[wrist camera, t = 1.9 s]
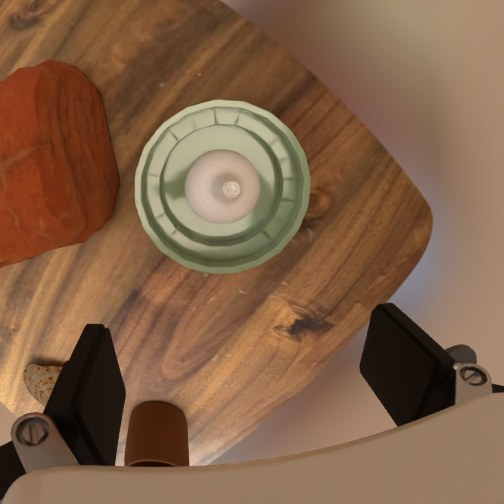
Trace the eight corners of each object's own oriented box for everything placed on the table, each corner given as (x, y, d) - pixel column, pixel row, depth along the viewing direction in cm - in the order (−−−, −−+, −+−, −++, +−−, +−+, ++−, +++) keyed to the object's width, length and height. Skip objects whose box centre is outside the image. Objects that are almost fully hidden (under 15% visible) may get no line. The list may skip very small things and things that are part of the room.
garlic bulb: (190, 223, 28) (188, 252, 21) (181, 154, 26) (175, 156, 19) (258, 214, 29) (281, 239, 22) (252, 145, 27) (274, 145, 20)
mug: (168, 454, 39) (168, 505, 30) (119, 441, 37) (112, 493, 28) (195, 409, 36) (199, 468, 27) (138, 392, 34) (130, 451, 25)
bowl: (276, 91, 26) (288, 84, 23) (309, 234, 31) (323, 246, 28) (123, 133, 25) (113, 131, 21) (170, 276, 30) (167, 293, 27)
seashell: (14, 356, 27) (60, 395, 26) (44, 339, 33) (89, 371, 32) (21, 401, 29) (64, 436, 28) (46, 383, 35) (87, 413, 34)
